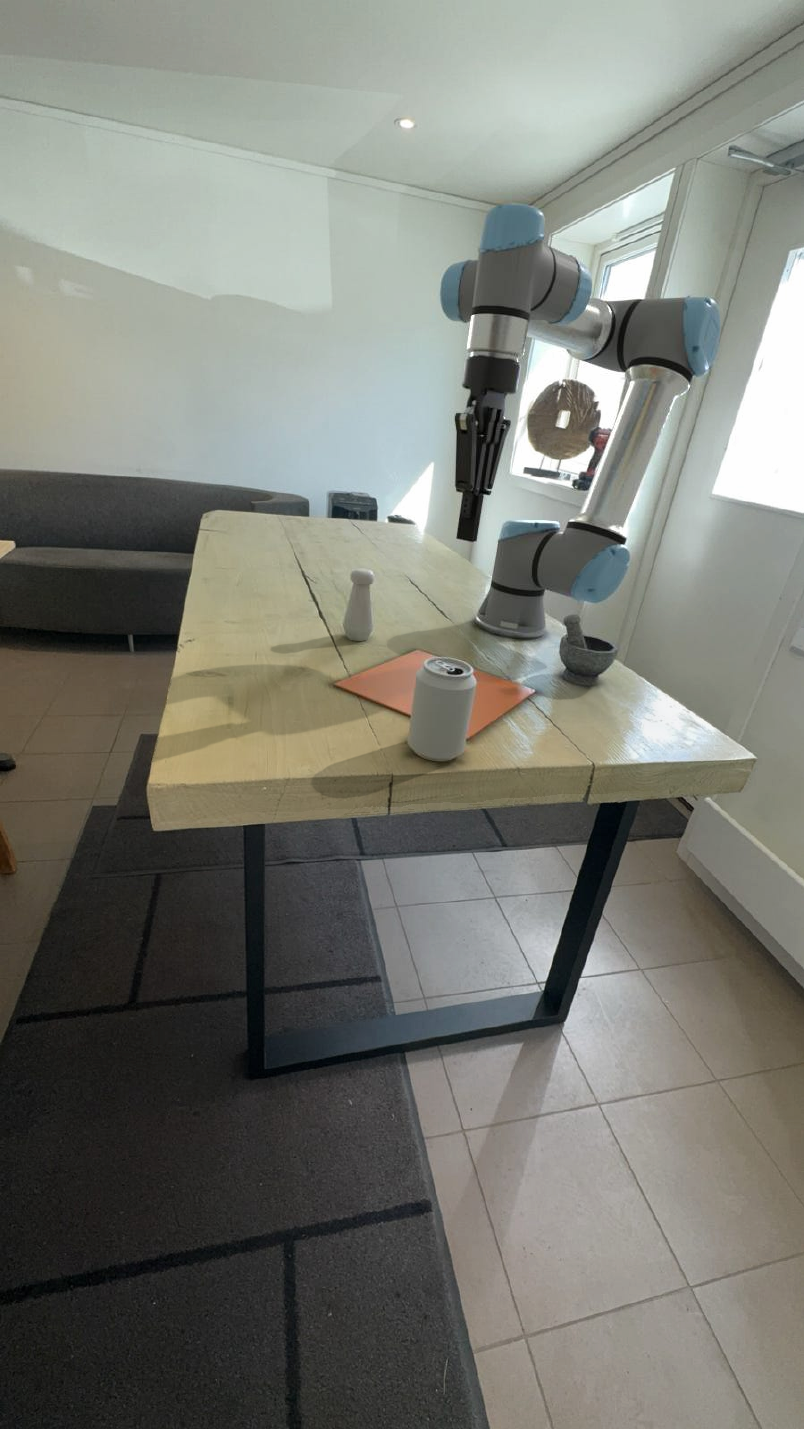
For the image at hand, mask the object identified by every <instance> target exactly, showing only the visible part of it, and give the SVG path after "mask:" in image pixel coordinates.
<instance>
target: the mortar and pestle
mask: <svg viewBox="0 0 804 1429" xmlns="http://www.w3.org/2000/svg"><path fill="white" fill-rule="evenodd" d="M563 625H564V626H565V629H566V634H565V635H564V636H562V637H561V638H560V642H559V651H558V654H559V657H560V661H561V663H562V664H563V665H564V667H565V668H564V670H563V673H562V677H563V678H564V680H566V681H568V682H571V683H573V684H575V685H579V686H586V687H587V686H588V687H589V686H595V685H597V684H598V682H599V676H600V675H603V673H605V672H606V671H607V670H608V669H609V668H610V667H611V666H612V665H613V663H614V661H615V659H616V658H617V654H618V651H619V648H618V647H617V646H616V645H615V644H614V642H611V641H608V640H606V639H603V638H601V637H598V636H594V635H593V636H592V635H588V634H584V633H583V629H582V626H581V617H580V616H579V615H578V614H574V613H573V614H569V615H567V616H565V617H564V618H563Z"/></svg>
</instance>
